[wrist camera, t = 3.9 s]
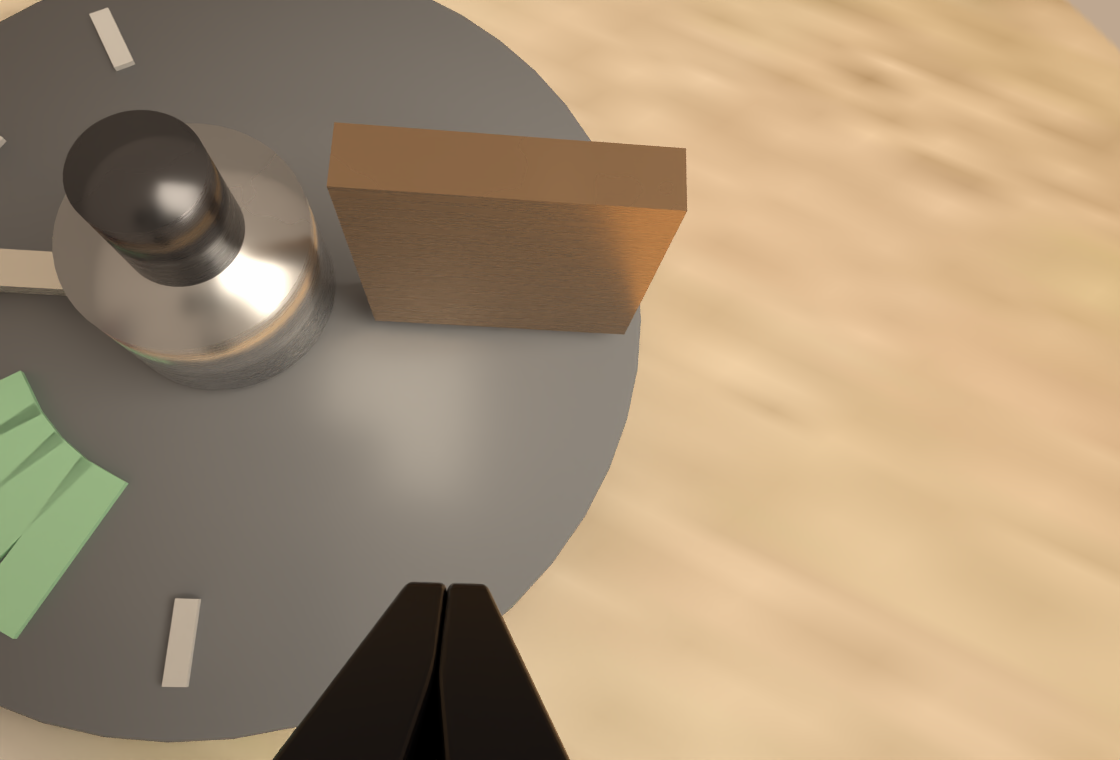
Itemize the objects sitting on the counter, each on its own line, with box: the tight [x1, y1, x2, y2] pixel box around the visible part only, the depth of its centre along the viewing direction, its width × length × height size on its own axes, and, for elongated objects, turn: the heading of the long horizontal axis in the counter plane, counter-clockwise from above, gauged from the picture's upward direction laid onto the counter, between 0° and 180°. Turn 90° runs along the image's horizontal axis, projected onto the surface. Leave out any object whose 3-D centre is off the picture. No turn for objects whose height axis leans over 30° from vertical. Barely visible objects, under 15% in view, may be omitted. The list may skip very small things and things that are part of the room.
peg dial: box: [0, 110, 687, 390], centre depth 16 cm, size 20×5×6 cm, turn 88°
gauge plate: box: [0, 0, 641, 742], centre depth 20 cm, size 20×20×1 cm
